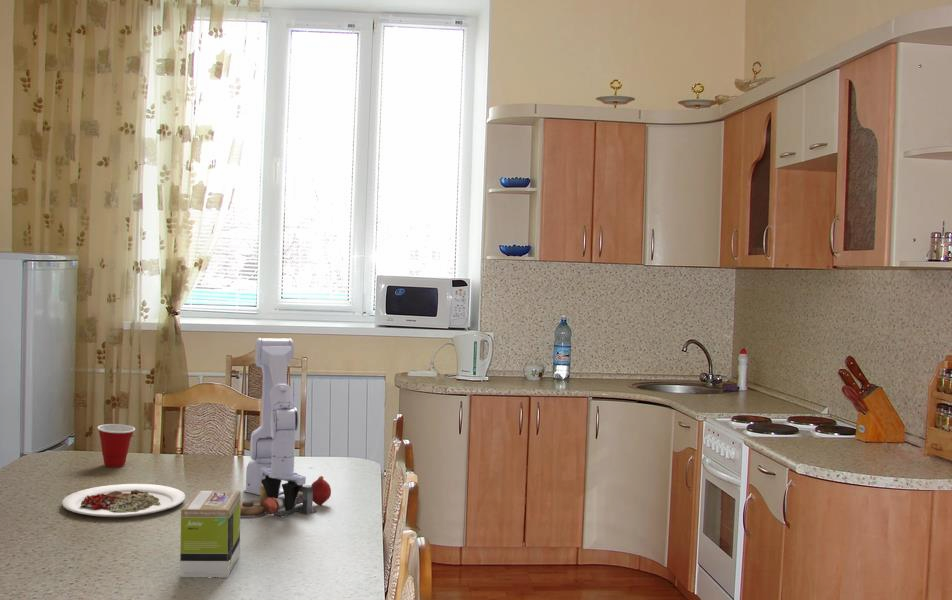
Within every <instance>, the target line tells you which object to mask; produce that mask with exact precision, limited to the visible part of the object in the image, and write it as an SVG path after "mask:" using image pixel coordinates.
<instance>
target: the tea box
mask: <svg viewBox="0 0 952 600" xmlns="http://www.w3.org/2000/svg"><path fill="white" fill-rule="evenodd" d="M240 500H241V491H240V490H196V491H195V493H194V494H193V495H192V496H191V497H190V499H189V500H188V501H187V502H186V503H185V505H184V506H183V507H182V509H180V510H181V511H180V547H179V548H180V551H179V552H180V555H179V557H180V559H179V560H180V561H179V563H180V565H179V567H180V568H179V571H180V572H179V575H180V578H181V577H216V578H215V579H225V578H228V577H229V576H230V573H231V571H232V569H233V568H234V566H235V564H236V563H237V560H238V558H239V556H240V554H241V518H240ZM217 577H218V578H217Z"/></svg>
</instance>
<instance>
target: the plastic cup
mask: <svg viewBox="0 0 952 600" xmlns="http://www.w3.org/2000/svg"><path fill="white" fill-rule="evenodd" d="M96 428H97V430H98V434H99V438H100V446H101V453H102V458H103V464H104V466H105V467H107V468H121V467H124V466H125V464H126V462H127V456H128V453H129V448H130V443H131V439H132V438H133V437H132V436H133V433H134V432H135V430H136V428H135V427H134V426H132V425H126V424H119V423H114V424H113V423H108V424H107V423H106V424H101V425H98V426H97V427H96Z"/></svg>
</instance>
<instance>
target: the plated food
mask: <svg viewBox="0 0 952 600" xmlns="http://www.w3.org/2000/svg"><path fill="white" fill-rule="evenodd" d="M185 500H186V494H185V493H184V492H183V491H182V490H180V489H178V488H175V487H172V486H166V485H161V484H160V485H159V484H152V483H150V484H149V483H122V484H109V485H108V484H107V485H102V486H101V485H100V486H95V487H90V488H86V489H82V490H78V491H76V492H72V493H71V494H69V495H67V496H65V497H64V498H63V499H62V502H61V505H62V506H63V508H64V509H66V510H68V511H70V512H72V513H76V514H80V515H87V516H91V517H92V516H93V517H100V518H102V517H103V518H130V517H138V516H145V515H149V514H150V515H151V514H155V513H158V512H163V511H166V510H169V509H173V508H174V507H177V506H180V504H182V503H183V502H184V501H185Z"/></svg>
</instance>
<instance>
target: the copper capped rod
mask: <svg viewBox="0 0 952 600" xmlns="http://www.w3.org/2000/svg"><path fill="white" fill-rule="evenodd" d="M297 504H303V492H298V495H297V497H296V500H295V503H294V505H297ZM263 506H264V510H265V512H266V513H267V515H274V513H276V512H277V511H278V510H280V509H283V508H285V497H284V495H283V496H278V498H274V497H269V498H266V499H265V501H264V504H263Z"/></svg>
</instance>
